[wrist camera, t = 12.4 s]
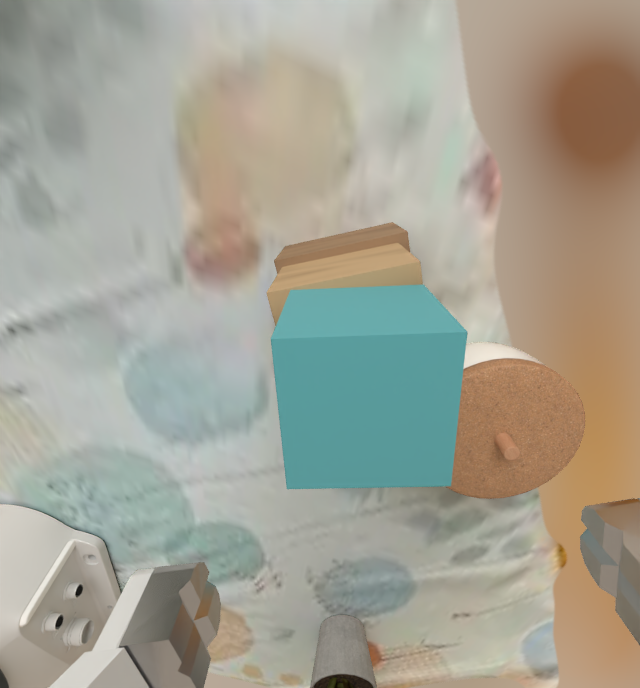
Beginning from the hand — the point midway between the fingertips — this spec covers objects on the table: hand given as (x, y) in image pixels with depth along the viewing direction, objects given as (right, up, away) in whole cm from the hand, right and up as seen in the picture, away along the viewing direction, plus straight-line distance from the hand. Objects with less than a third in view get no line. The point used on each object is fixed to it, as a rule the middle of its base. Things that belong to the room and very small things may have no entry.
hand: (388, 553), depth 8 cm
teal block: (0, +4, +10) cm, 11 cm away
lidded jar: (+11, +1, +24) cm, 26 cm away
